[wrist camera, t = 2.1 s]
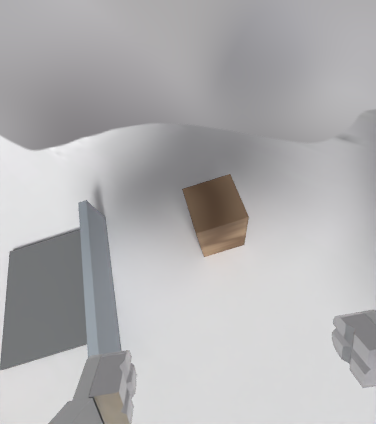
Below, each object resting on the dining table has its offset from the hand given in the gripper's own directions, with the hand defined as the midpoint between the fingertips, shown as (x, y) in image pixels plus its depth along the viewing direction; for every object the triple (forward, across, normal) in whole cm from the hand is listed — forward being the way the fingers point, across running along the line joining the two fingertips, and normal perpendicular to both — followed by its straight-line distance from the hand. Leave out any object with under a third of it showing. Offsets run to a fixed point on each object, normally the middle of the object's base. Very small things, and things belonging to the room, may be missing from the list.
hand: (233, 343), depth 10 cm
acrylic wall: (+18, +11, +9) cm, 23 cm away
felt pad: (+19, +19, +9) cm, 28 cm away
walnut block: (+20, -3, +5) cm, 21 cm away
